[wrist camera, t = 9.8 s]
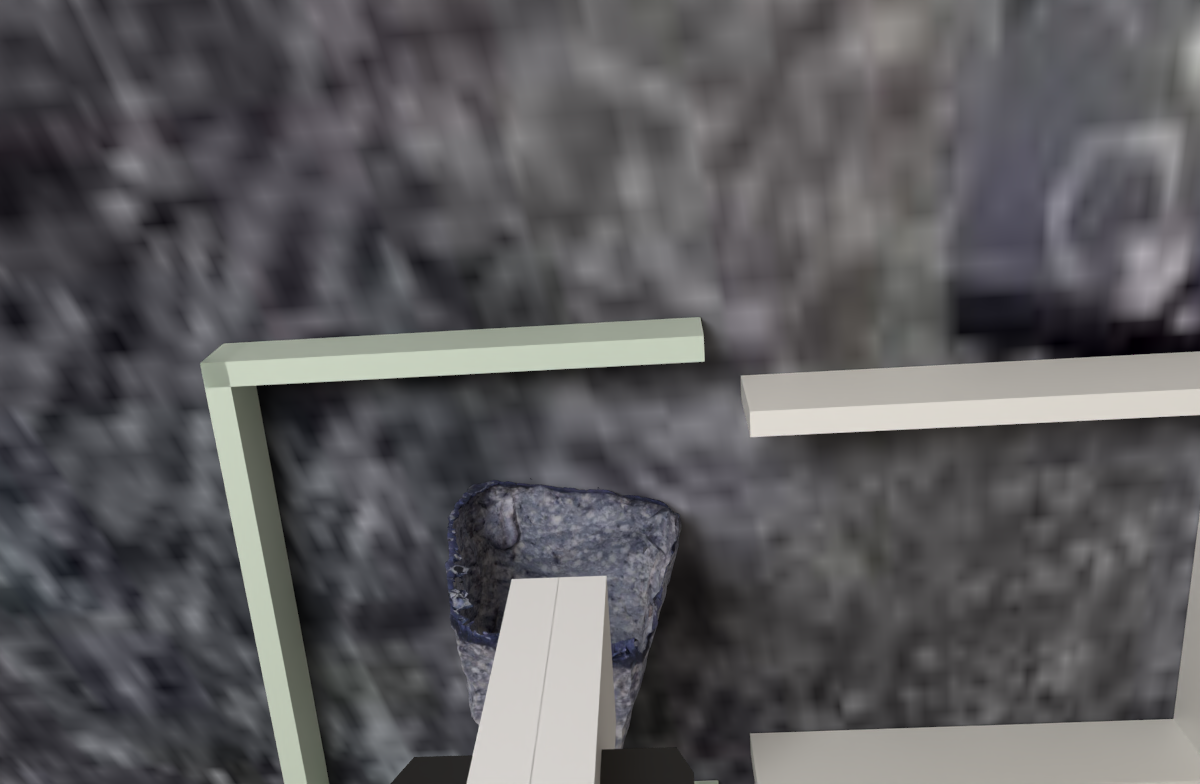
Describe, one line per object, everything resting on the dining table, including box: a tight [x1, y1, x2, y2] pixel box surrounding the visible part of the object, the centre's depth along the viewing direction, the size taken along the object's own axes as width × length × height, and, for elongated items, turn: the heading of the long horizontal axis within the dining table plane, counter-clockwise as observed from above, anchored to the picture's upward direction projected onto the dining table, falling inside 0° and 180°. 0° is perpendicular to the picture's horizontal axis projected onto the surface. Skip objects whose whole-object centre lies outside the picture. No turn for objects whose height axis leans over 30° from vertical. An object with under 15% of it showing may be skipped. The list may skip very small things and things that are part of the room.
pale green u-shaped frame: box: [200, 317, 719, 784], centre depth 46 cm, size 19×23×2 cm
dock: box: [741, 352, 1200, 784], centre depth 44 cm, size 20×18×4 cm
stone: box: [445, 478, 682, 749], centre depth 43 cm, size 12×10×10 cm
